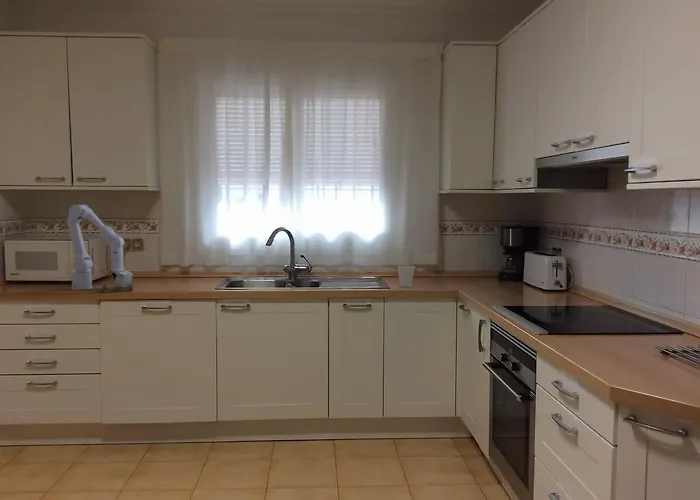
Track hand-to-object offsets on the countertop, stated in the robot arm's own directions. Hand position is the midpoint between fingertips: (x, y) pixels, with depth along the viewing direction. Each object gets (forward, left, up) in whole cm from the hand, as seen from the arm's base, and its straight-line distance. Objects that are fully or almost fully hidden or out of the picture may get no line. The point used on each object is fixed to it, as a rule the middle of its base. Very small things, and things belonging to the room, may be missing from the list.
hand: (118, 285), depth 315 cm
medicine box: (+2, -3, -1) cm, 3 cm away
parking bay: (0, -5, -2) cm, 5 cm away
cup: (+148, -37, -2) cm, 153 cm away
